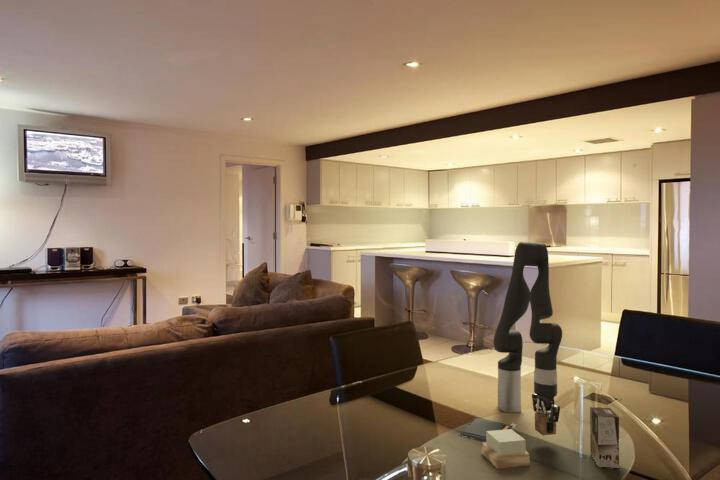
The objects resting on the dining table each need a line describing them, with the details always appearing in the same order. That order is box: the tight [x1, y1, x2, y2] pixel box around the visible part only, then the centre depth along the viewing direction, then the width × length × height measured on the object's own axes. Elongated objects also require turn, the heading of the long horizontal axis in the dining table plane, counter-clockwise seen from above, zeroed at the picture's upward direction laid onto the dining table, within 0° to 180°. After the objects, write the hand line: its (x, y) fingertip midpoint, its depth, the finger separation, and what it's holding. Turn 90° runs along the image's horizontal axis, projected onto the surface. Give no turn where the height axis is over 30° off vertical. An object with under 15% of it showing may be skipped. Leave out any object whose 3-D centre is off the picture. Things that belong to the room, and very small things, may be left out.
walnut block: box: [534, 411, 557, 436], centre depth 165 cm, size 5×5×6 cm
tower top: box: [486, 428, 527, 455], centre depth 155 cm, size 9×9×4 cm
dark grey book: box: [460, 417, 513, 442], centre depth 178 cm, size 20×2×15 cm
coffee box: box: [589, 406, 620, 469], centre depth 152 cm, size 9×6×16 cm
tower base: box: [481, 441, 531, 470], centre depth 155 cm, size 11×11×4 cm
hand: (545, 429), depth 165 cm, fingers closed on walnut block, 5 cm apart
